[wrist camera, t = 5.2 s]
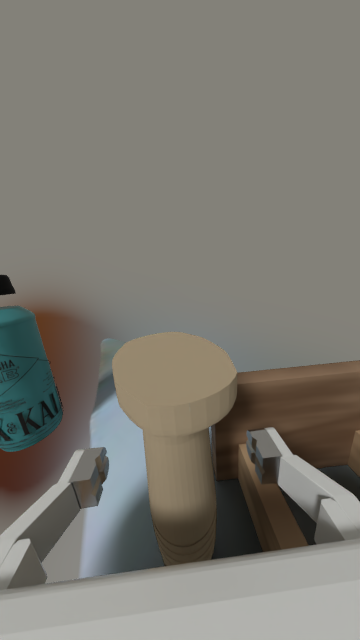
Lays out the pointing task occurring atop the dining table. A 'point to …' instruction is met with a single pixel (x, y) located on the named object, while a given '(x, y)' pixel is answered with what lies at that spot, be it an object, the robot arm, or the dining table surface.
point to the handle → (177, 432)
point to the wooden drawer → (289, 435)
